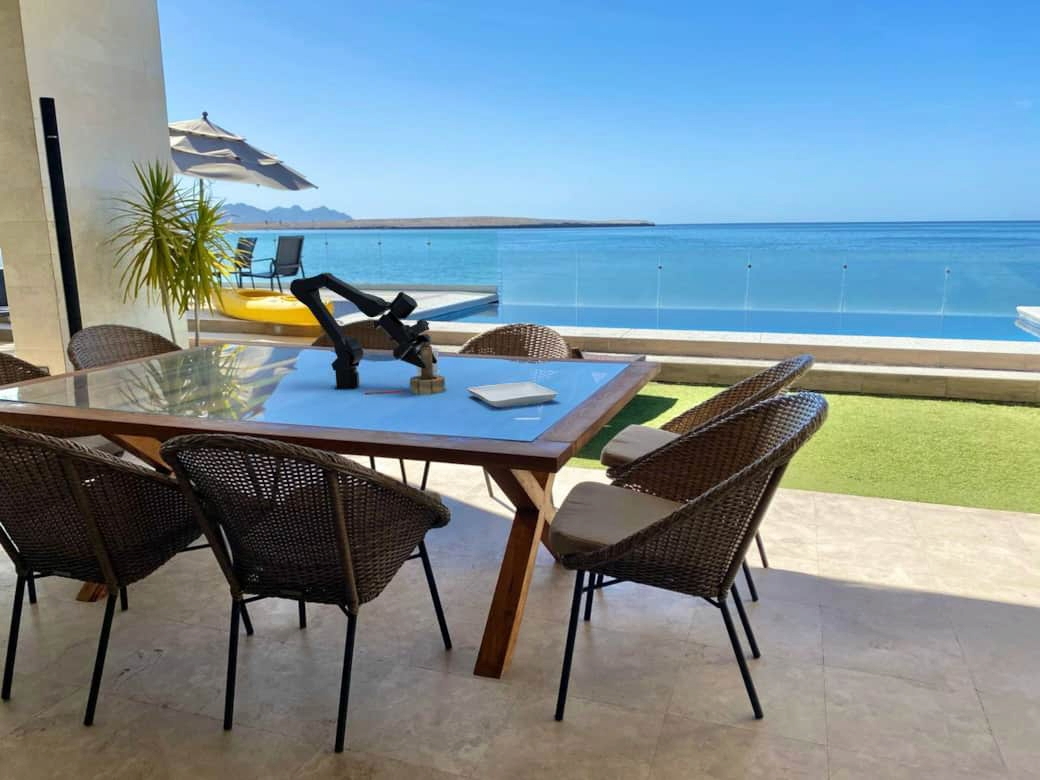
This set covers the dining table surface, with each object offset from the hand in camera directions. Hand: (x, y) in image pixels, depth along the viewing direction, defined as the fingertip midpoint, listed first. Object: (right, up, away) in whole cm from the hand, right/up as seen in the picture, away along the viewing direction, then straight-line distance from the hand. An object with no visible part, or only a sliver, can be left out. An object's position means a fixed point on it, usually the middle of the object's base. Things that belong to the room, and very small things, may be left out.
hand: (430, 365), depth 240 cm
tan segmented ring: (-1, -8, +2) cm, 8 cm away
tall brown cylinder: (-1, -8, +2) cm, 8 cm away
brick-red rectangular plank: (-14, -9, 0) cm, 17 cm away
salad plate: (+25, -11, -12) cm, 30 cm away
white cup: (-4, -4, +22) cm, 22 cm away
